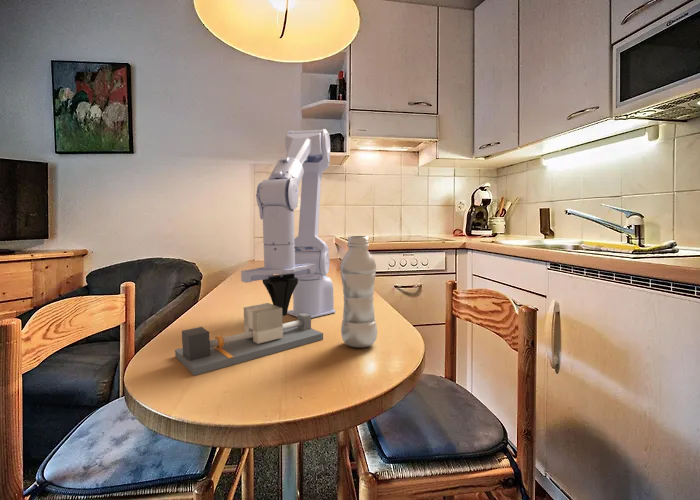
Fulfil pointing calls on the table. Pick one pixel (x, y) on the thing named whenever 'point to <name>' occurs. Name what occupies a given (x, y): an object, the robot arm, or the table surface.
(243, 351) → the rail board
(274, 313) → the sleeve
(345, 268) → the plastic bottle
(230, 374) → the table surface
